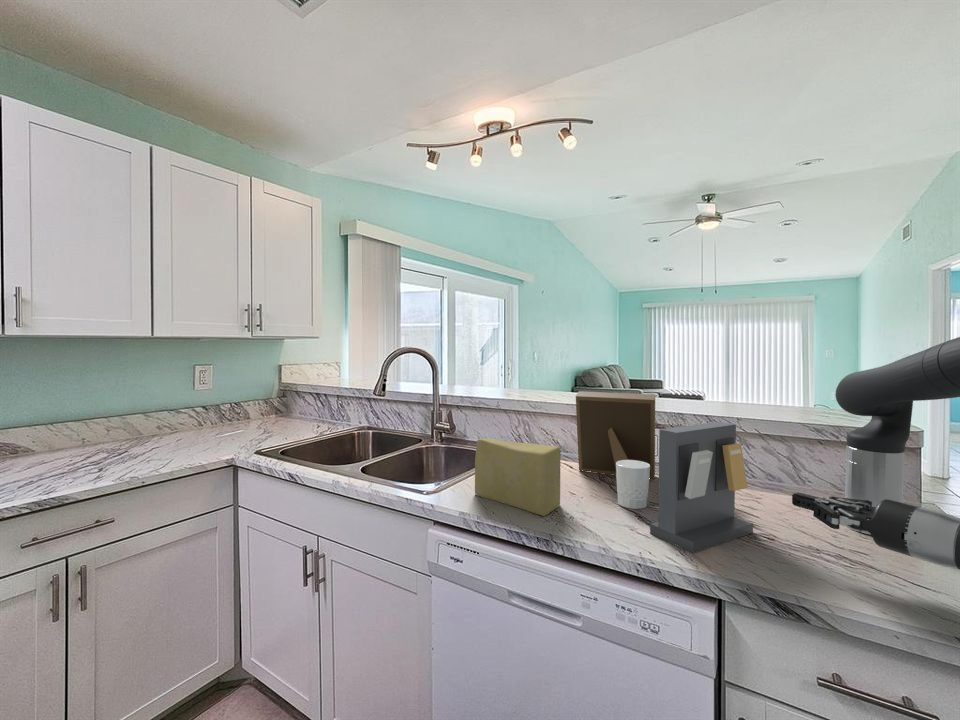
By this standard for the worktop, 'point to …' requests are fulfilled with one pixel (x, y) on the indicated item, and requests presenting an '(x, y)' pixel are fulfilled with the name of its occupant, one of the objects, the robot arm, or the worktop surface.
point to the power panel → (701, 516)
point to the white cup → (632, 483)
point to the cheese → (518, 474)
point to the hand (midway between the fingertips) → (794, 498)
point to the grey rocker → (698, 474)
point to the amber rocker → (734, 466)
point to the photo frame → (615, 430)
